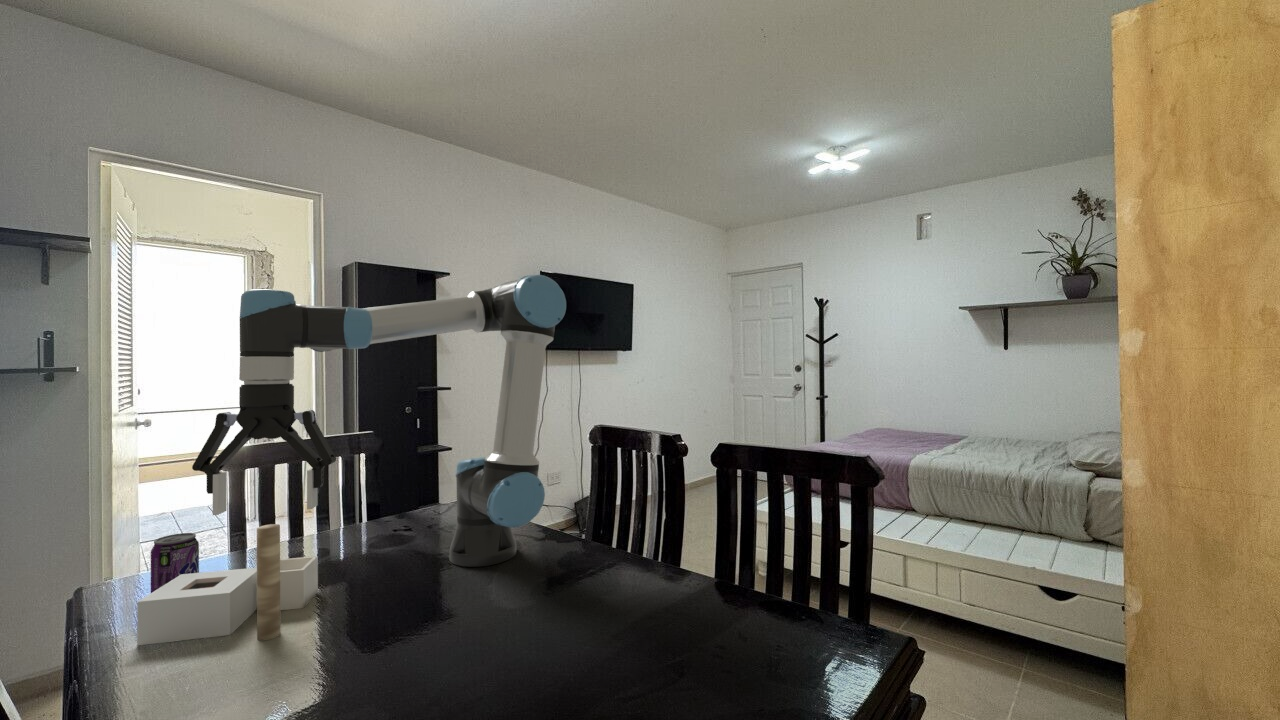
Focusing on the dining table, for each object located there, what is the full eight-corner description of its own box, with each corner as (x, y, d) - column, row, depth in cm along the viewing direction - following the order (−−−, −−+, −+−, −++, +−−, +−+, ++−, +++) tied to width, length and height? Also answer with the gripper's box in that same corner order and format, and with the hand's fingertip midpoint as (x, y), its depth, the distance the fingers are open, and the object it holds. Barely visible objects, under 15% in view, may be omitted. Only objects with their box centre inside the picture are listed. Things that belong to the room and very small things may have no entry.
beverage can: (170, 609, 100) (170, 544, 100) (140, 606, 102) (140, 542, 102) (208, 593, 107) (208, 532, 107) (179, 591, 109) (179, 531, 109)
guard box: (262, 604, 102) (261, 567, 102) (230, 634, 90) (229, 592, 90) (181, 612, 99) (181, 574, 99) (137, 645, 87) (137, 601, 87)
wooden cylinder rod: (283, 629, 92) (283, 523, 92) (275, 638, 88) (275, 528, 89) (262, 632, 91) (261, 525, 91) (253, 641, 88) (253, 530, 88)
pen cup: (317, 591, 107) (317, 556, 107) (303, 607, 100) (303, 569, 100) (274, 595, 106) (274, 559, 106) (257, 612, 98) (256, 574, 98)
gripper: (355, 381, 97) (355, 500, 96) (193, 383, 91) (192, 509, 91) (342, 382, 90) (342, 510, 89) (165, 384, 84) (164, 521, 83)
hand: (266, 510), depth 90 cm, fingers open, 13 cm apart
